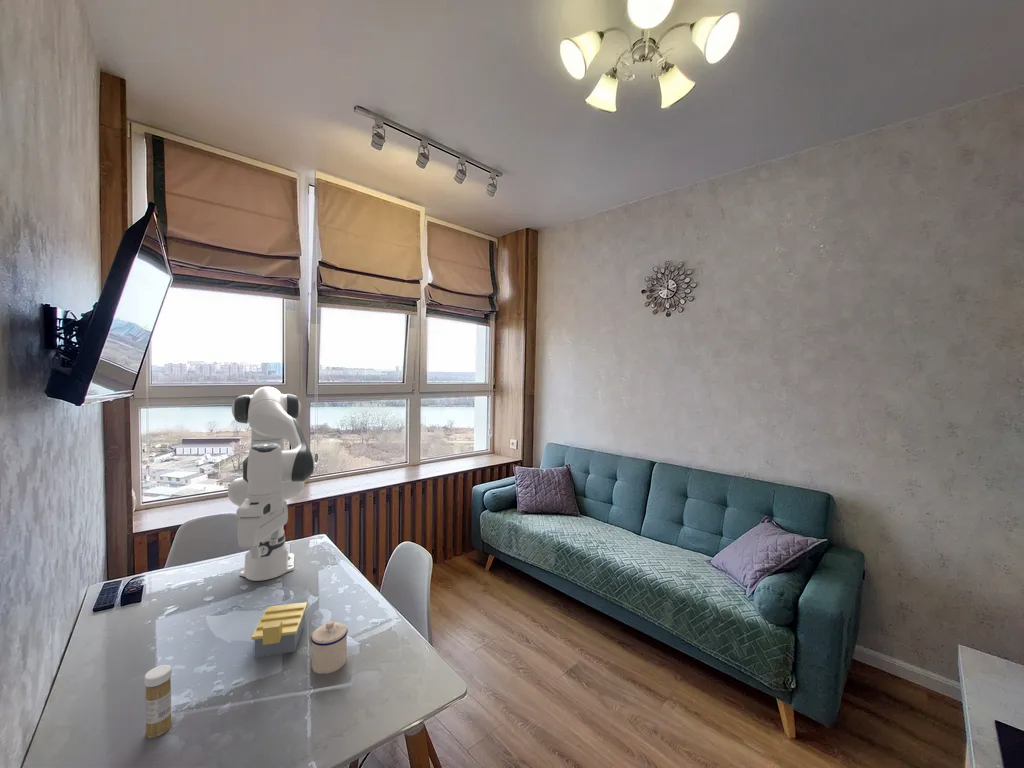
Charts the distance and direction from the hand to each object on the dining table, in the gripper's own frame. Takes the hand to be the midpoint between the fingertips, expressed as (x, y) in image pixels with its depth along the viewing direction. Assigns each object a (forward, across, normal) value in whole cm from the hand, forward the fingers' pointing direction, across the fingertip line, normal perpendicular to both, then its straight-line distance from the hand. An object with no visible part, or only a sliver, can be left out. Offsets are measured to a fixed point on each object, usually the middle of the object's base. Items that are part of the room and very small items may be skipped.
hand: (265, 551), depth 116 cm
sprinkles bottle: (+30, +24, -11) cm, 40 cm away
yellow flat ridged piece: (+23, -5, +2) cm, 24 cm away
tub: (+29, -6, +2) cm, 30 cm away
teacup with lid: (+30, +4, +18) cm, 35 cm away
